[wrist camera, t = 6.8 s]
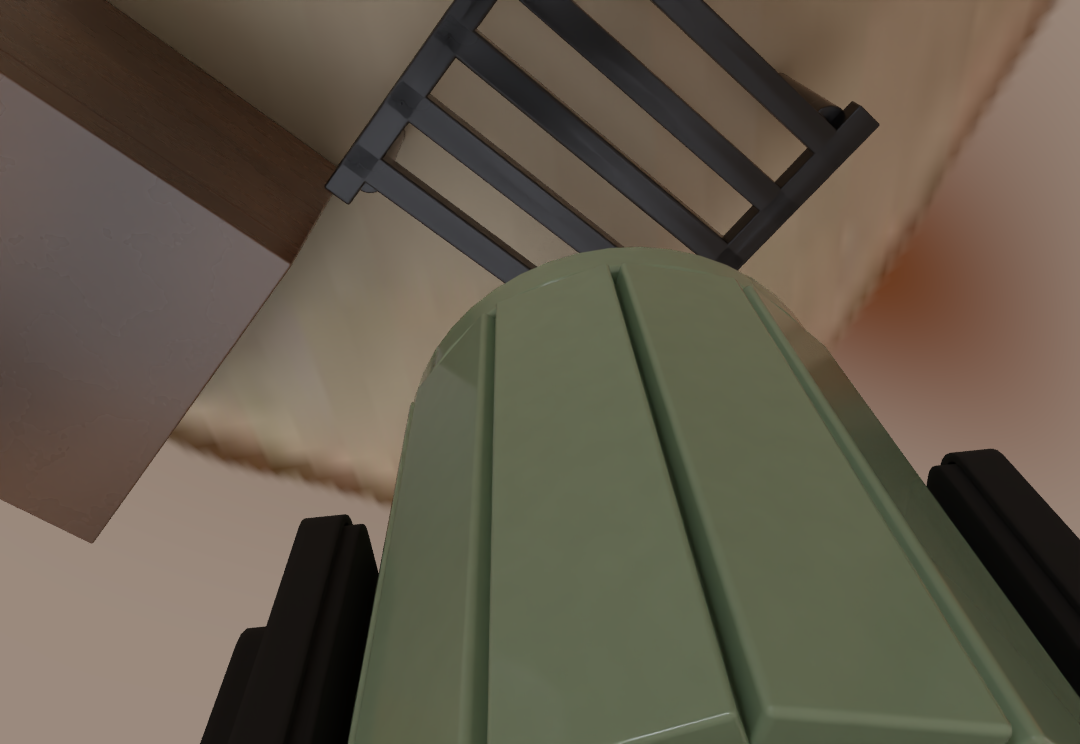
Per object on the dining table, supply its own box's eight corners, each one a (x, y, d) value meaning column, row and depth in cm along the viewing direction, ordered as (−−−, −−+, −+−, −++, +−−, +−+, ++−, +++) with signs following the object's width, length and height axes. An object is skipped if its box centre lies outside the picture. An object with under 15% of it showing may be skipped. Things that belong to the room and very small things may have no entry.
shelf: (-79, 253, 35) (-269, 369, 27) (62, -32, 30) (-115, -5, 22) (182, 402, 39) (91, 544, 31) (345, 172, 34) (292, 264, 26)
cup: (328, 471, 14) (146, 1058, 7) (601, 147, 11) (760, 544, 4) (632, 647, 16) (732, 1222, 9) (913, 411, 14) (1346, 946, 7)
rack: (355, 135, 34) (322, 188, 28) (561, -161, 29) (578, -177, 23) (597, 315, 38) (616, 395, 32) (811, 84, 33) (880, 125, 27)
